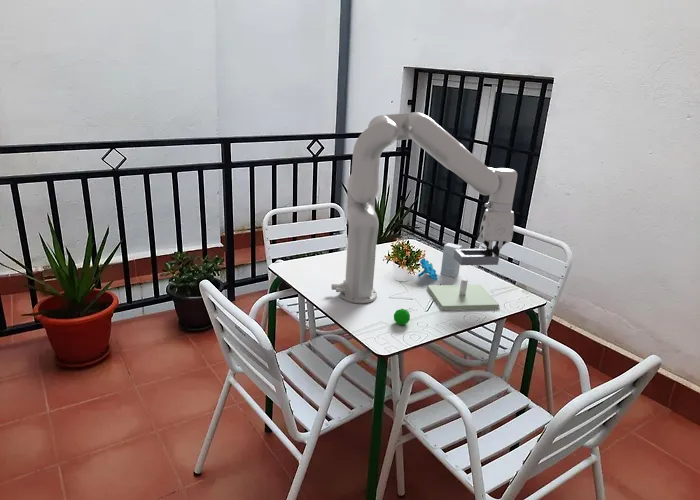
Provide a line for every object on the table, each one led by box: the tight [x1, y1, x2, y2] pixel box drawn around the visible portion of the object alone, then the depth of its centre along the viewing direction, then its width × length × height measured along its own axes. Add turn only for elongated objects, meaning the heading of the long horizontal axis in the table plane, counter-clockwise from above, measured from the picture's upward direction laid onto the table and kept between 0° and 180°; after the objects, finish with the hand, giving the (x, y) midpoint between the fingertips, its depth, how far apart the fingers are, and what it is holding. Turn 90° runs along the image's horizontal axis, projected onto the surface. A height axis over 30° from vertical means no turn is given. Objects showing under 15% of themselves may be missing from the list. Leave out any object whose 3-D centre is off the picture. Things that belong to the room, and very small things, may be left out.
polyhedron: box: [393, 308, 411, 326], centre depth 152 cm, size 5×5×5 cm
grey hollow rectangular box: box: [453, 248, 500, 266], centre depth 166 cm, size 13×7×3 cm, turn 99°
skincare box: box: [440, 242, 463, 278], centre depth 189 cm, size 6×4×12 cm
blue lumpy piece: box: [417, 257, 439, 281], centre depth 187 cm, size 11×6×10 cm
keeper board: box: [427, 278, 500, 311], centre depth 170 cm, size 20×16×7 cm
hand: (491, 258), depth 168 cm, fingers closed on grey hollow rectangular box, 1 cm apart
